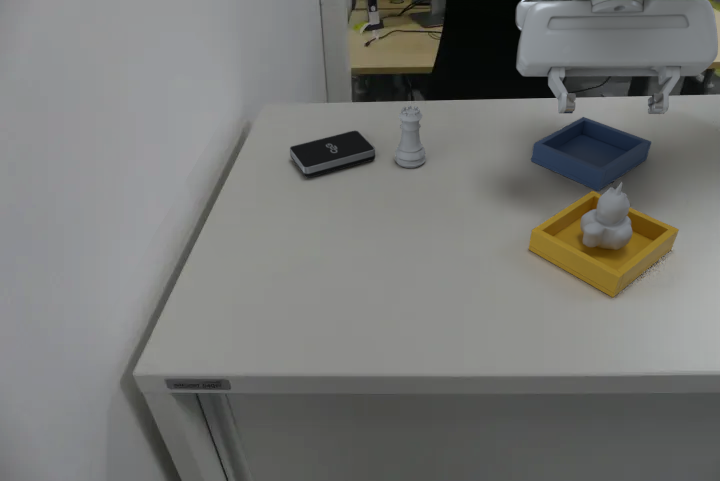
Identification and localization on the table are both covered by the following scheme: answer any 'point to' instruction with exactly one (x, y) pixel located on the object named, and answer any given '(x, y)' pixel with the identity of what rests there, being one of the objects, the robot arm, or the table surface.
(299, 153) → the external hard drive
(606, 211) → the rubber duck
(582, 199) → the yellow tray
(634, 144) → the blue tray
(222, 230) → the table surface
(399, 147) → the rook chess piece
